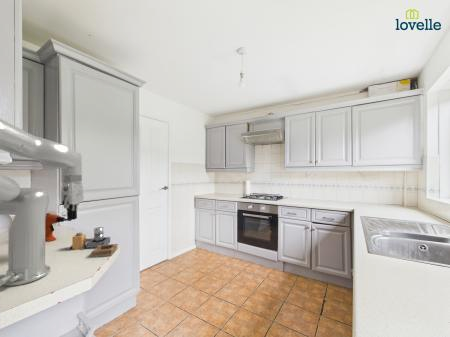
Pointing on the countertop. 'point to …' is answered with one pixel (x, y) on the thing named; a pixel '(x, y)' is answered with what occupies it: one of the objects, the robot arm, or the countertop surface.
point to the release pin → (78, 241)
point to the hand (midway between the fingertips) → (72, 219)
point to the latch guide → (82, 247)
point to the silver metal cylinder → (98, 234)
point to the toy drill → (51, 226)
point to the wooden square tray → (104, 250)
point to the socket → (97, 243)
